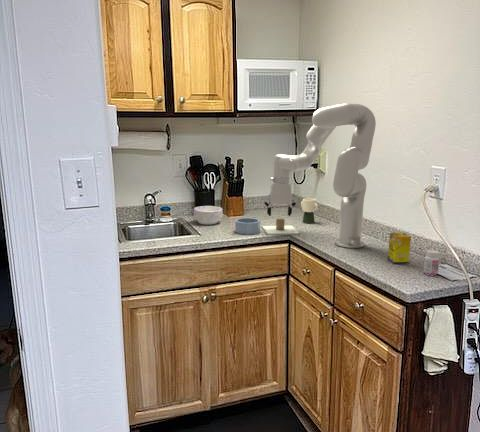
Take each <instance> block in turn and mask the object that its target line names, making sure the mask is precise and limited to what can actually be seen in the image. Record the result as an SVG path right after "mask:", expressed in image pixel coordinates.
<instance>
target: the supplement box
mask: <svg viewBox="0 0 480 432" xmlns="http://www.w3.org/2000/svg"><path fill="white" fill-rule="evenodd" d="M388 241H389V242H388V253H387V254H388V255H387V260H388V261H390V262H391V263H392V264H393V265H408V264H410V262H409V261H410V253H411V252H410V249H411V241H412V236H410V235H409V234H407V233H405V232H390V233H389V240H388Z"/></svg>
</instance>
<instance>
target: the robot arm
mask: <svg viewBox="0 0 480 432" xmlns="http://www.w3.org/2000/svg"><path fill="white" fill-rule="evenodd" d="M311 123H312V126H311V127H310V128H309V129H308V131H307V132H306V135H305V137H306V140H307V145H306V146H305V148H304V149H303V151H302V152H301V153H300V154H296V155H295V154H293V155H289V154H286V153H285V154H284V153H282V154H281V153H279V154H275V155H274V159H273V160H274V162H273V176H272V177H270V181H271V184H270V190H269V194H268V195H266V196H264V197H262V202H263V204H264V205H265V206H266V207H267V210H266V211H267V216H269V217H271V216H272V206H273V205H279V206H280V205H284V206H285V205H288V207H287V216H288V217H291V215H292V212H293V208H294V207H295V206H296V205H297V203H298V200H299V199H298V198H297V197H296V196H294V195H292V184H291V183H290V175H291V174H290V173H296V172H297V173H298V172H302V171H303V172H304V171H307V170H308V169H309V168H310V167H311V166H312V165H313V163H315V161H316V159H317V158H318V157H319V155H320V153H321V150H322V146H323V145H324V143H325V142H326V140H327V139H328V138H329V136H331V134H332V133H333V132H334V130H335V129H336V127H340V126H348V125H349V126H352V125H353V126H355V128H354V131H353V133H352V137H351V142H350V145H349V147H348V148H345V149H344V150H342V151H341V152H340V154H339V155H338V158H337V161H336V164H335V171H334V176H333V183H332V187H333V190H334V193H335V194H336V195H337V196H338V197H340V198H341V201H340V211H339V225H338V226H339V228H338V230H339V231H338V238H337V239H336V240H334V244H335V245H337V246H338V247H342V248H347V249H351V248H352V249H356V248H357V249H358V248H363V247H364V246H365V242H364V241H363V240H362V229H363V228H362V227H363V218H364V217H363V213H364V202H365V196H366V191H367V180H366V178H365V176H364V175H363V174H362V173H359V171H360V170H364V169H365V168H366V167H367V166H368V165H369V162H370V155H371V151H372V145H373V141H374V137H375V136H374V135H375V131H376V123H377V122H376V117H375V115H374V113H373V111H372V110H371V109H370V108H369V107H367V106H366V105H363V104H359V103H351V102H349V103H342V104H334V105H331V106H326V107H325V106H324V107H321V108H318V109H317V110H315V111H314V112H313V115H312V117H311ZM268 199H269V202H267V200H268ZM292 200H293V201H292Z"/></svg>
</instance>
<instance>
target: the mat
mask: <svg viewBox="0 0 480 432" xmlns="http://www.w3.org/2000/svg"><path fill="white" fill-rule="evenodd" d="M260 229H261V230H262V231H263V232H264V234H265V235H266V236H268V235H267V233H266V232H265V231H264V229H263V228H262V227H261V226H260ZM298 235H299V236H300V235H301V234H300V233H299V234H288V235H287V236H298Z"/></svg>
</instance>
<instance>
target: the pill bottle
mask: <svg viewBox="0 0 480 432" xmlns="http://www.w3.org/2000/svg"><path fill="white" fill-rule="evenodd" d="M439 256H440V251H438V250H435V249H427V250H426V255H425V257H424V264H423V274H424V273H425V274H427V275H426V276H428V275H436V274H438V275H439V268H440V265H439V264H440V257H439ZM425 274H424V275H425Z"/></svg>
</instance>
